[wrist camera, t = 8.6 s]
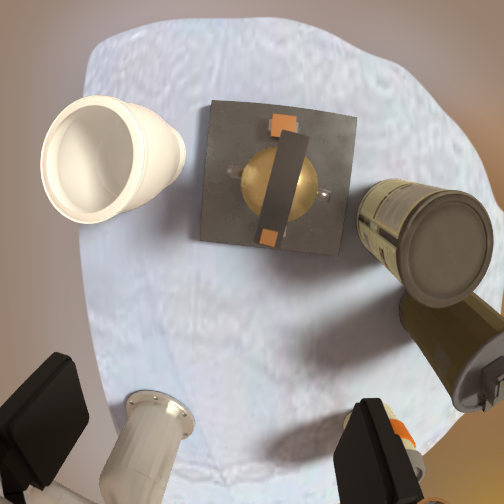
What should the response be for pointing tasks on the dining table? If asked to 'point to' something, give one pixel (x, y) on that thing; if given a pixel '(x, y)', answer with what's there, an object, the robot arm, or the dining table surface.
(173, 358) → the dining table surface
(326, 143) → the lever latch plate
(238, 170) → the latch lever
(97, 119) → the jar
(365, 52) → the dining table surface
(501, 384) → the canister
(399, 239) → the coffee can
